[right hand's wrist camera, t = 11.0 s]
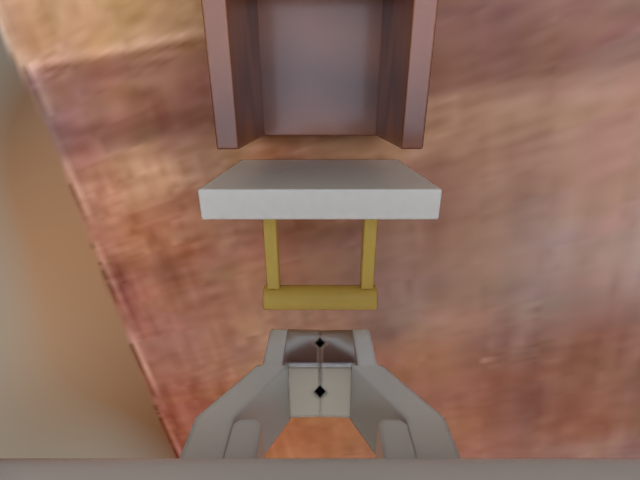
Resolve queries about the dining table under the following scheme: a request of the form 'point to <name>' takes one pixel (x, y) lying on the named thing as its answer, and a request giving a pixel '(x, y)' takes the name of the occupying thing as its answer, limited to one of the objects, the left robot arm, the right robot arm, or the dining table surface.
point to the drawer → (319, 121)
